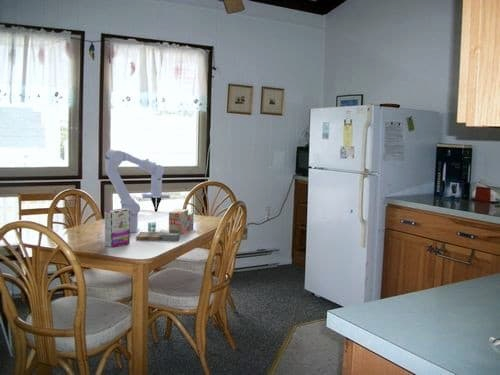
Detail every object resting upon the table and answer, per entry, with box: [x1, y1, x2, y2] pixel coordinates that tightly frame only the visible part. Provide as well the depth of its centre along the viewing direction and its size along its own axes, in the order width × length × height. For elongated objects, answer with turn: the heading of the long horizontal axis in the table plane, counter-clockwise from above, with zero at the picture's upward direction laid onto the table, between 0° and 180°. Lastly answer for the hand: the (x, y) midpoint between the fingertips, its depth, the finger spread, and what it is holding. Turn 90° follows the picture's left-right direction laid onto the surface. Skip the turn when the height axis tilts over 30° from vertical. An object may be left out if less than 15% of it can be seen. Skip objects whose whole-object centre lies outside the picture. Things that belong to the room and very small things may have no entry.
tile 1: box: [159, 228, 170, 236], centre depth 236 cm, size 4×4×2 cm
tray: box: [161, 231, 181, 242], centre depth 236 cm, size 8×10×3 cm
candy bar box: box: [104, 207, 131, 248], centre depth 218 cm, size 11×5×16 cm, turn 148°
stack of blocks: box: [168, 208, 195, 237], centre depth 253 cm, size 21×6×12 cm, turn 168°
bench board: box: [135, 231, 162, 242], centre depth 235 cm, size 12×11×2 cm
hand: (156, 211), depth 260 cm, fingers closed
